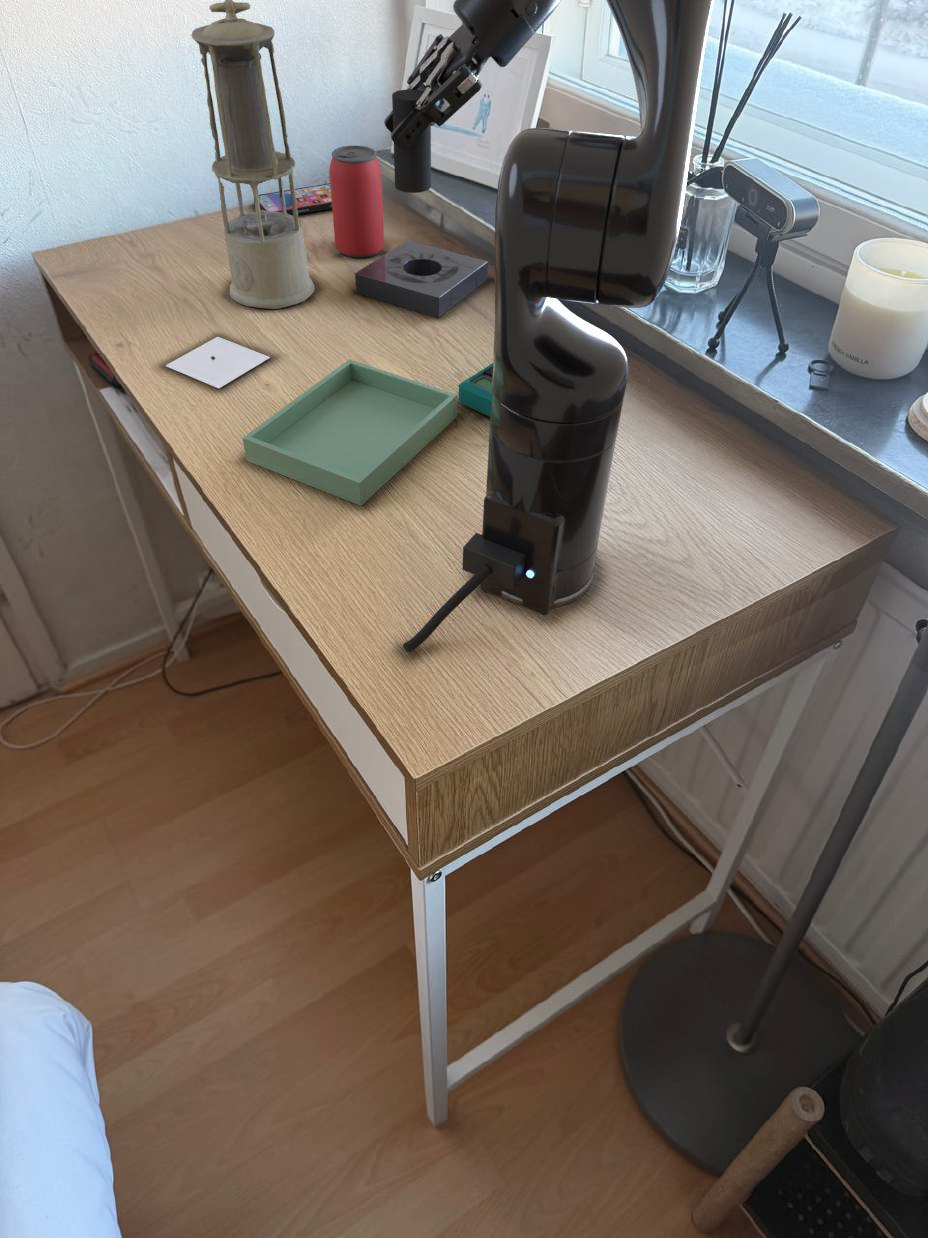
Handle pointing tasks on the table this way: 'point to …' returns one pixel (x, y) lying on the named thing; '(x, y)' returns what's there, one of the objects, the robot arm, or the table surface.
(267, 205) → the smartphone
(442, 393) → the basin tray
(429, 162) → the black cylinder
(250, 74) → the lamp
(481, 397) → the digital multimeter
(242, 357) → the coaster
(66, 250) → the table surface
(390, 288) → the drain plate
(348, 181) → the beer can
